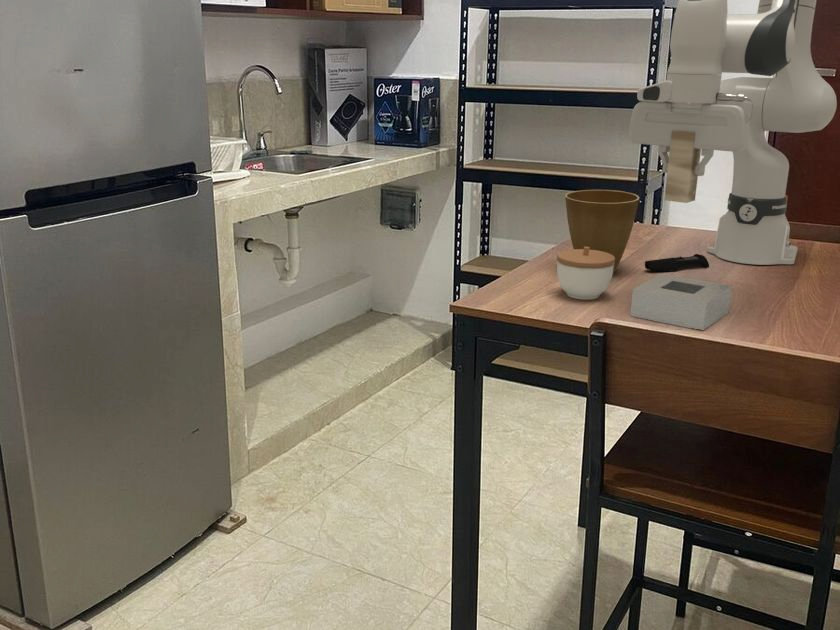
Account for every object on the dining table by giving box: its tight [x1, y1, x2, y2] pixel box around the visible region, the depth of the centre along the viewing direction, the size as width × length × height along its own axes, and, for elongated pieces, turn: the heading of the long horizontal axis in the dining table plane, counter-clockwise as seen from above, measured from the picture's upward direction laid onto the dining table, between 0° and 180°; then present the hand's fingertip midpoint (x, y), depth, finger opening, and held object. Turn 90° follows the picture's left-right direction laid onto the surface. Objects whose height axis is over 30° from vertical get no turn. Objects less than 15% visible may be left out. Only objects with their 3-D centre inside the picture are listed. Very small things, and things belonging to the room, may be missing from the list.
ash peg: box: [664, 131, 702, 204], centre depth 147 cm, size 4×4×12 cm
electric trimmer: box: [644, 253, 710, 272], centre depth 180 cm, size 4×16×3 cm, turn 112°
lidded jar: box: [556, 247, 615, 301], centre depth 160 cm, size 11×11×9 cm
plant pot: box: [564, 189, 640, 274], centre depth 176 cm, size 15×15×16 cm
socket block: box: [630, 273, 733, 331], centre depth 150 cm, size 13×13×5 cm
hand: (682, 174), depth 147 cm, fingers closed on ash peg, 4 cm apart
